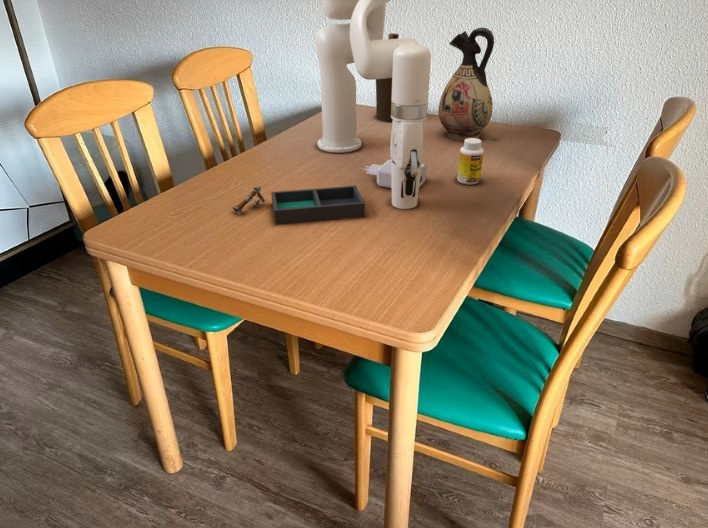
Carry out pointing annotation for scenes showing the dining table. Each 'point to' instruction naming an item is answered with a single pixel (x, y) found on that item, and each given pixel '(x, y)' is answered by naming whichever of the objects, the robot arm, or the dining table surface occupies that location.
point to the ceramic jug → (467, 90)
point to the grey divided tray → (317, 204)
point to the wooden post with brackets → (248, 199)
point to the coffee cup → (396, 188)
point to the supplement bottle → (470, 161)
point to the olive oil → (384, 94)
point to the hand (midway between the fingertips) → (405, 192)
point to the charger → (389, 173)
